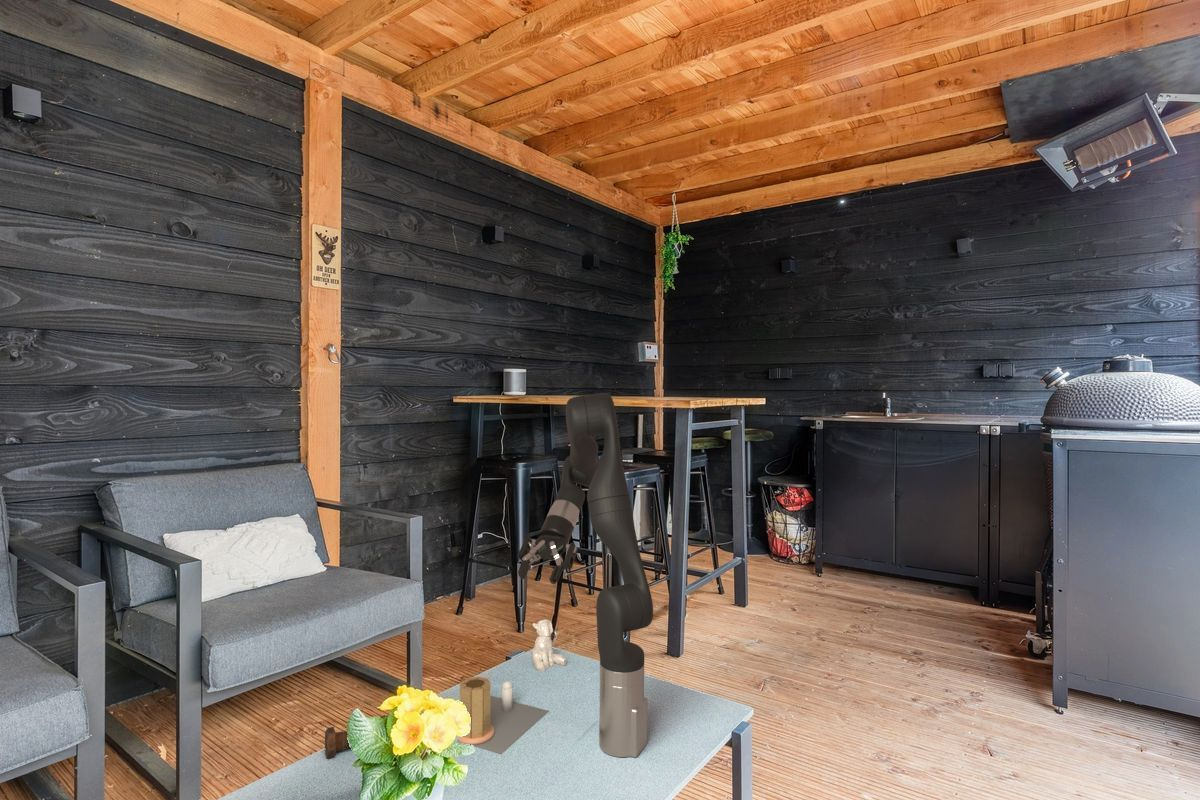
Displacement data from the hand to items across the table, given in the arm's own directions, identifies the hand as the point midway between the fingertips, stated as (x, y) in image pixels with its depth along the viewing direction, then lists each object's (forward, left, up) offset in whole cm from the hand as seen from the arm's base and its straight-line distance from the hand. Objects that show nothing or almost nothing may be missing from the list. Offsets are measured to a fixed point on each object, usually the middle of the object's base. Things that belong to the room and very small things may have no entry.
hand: (536, 579), depth 152 cm
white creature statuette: (+8, -17, -29) cm, 35 cm away
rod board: (+2, +15, -29) cm, 32 cm away
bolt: (+21, +32, -29) cm, 49 cm away
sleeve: (+2, +21, -26) cm, 34 cm away
